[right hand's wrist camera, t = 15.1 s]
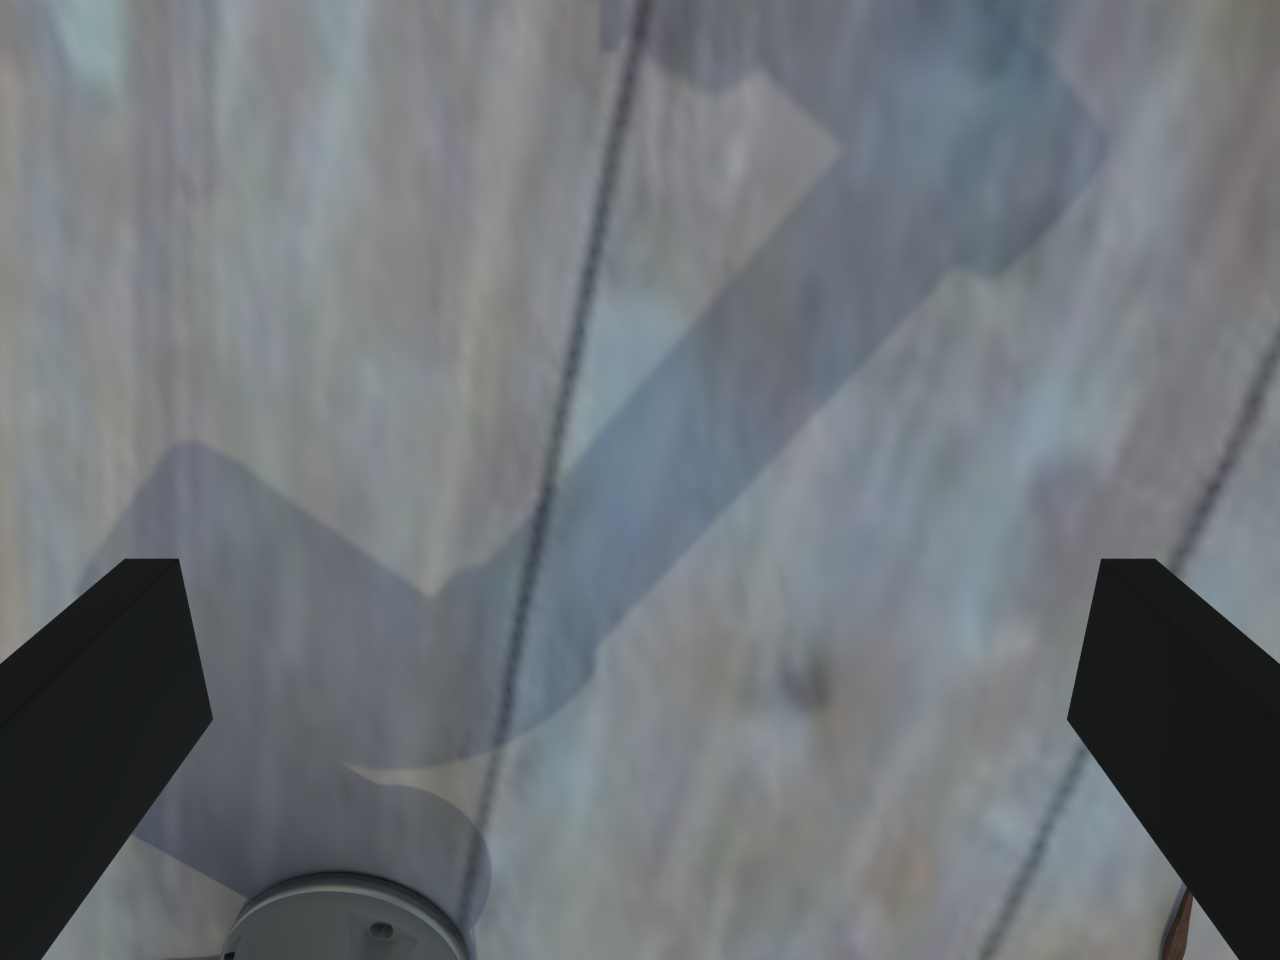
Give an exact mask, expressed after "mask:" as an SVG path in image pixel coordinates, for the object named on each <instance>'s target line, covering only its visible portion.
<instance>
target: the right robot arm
mask: <svg viewBox="0 0 1280 960" xmlns="http://www.w3.org/2000/svg"><path fill="white" fill-rule="evenodd" d="M212 720H213V717H212V712H211V707H210V703H209V698H208V693H207V689H206V684H205V679H204V675H203V670H202V665H201V661H200V656H199V651H198V647H197V642H196V637H195V633H194V628H193V623H192V618H191V614H190V609H189V604H188V600H187V595H186V590H185V586H184V581H183V576H182V572H181V567H180V562H179V559H124V560H123V561H122V562H120V563H119V564H118V565H117V566H116V567H115V568H113V569H112V570H111V571H110V572H109V573H107V574H106V575H105V576H104V577H103V578H102V579H100V580H99V581H98V582H97V583H96V584H94V585H93V586H92V587H91V588H90V589H89V590H87V591H86V592H85V593H84V594H83V595H81V596H80V597H79V598H78V599H77V600H76V601H74V602H73V603H72V604H71V605H70V606H68V607H67V608H66V609H65V610H64V611H62V612H61V613H60V614H59V615H58V616H57V617H55V618H54V619H53V620H52V621H51V622H49V623H48V624H47V625H46V626H45V627H44V628H42V629H41V630H40V631H39V632H38V633H36V634H35V635H34V636H33V637H32V638H31V639H29V640H28V641H27V642H26V643H25V644H23V645H22V646H21V647H20V648H19V649H17V650H16V651H15V652H14V653H13V654H12V655H10V656H9V657H8V658H7V659H6V660H4V661H3V662H2V663H1V664H0V960H41V959H42V958H43V956H44V955H45V953H46V952H47V951H48V949H49V948H50V946H51V945H52V944H53V942H54V941H55V939H56V938H57V937H58V935H59V934H60V932H61V931H62V930H63V928H64V927H65V925H66V924H67V923H68V921H69V920H70V918H71V917H72V916H73V914H74V913H75V911H76V910H77V909H78V907H79V906H80V905H81V903H82V902H83V900H84V899H85V898H86V896H87V895H88V893H89V892H90V891H91V889H92V888H93V886H94V885H95V884H96V882H97V881H98V879H99V878H100V877H101V875H102V874H103V872H104V871H105V870H106V868H107V867H108V865H109V864H110V863H111V861H112V860H113V858H114V857H115V856H116V854H117V853H118V851H119V850H120V849H121V847H122V846H123V845H124V843H125V842H126V840H127V839H128V838H129V836H130V835H131V833H132V832H133V831H134V829H135V828H136V826H137V825H138V824H139V822H140V821H141V819H142V818H143V817H144V815H145V814H146V812H147V811H148V810H149V808H150V807H151V805H152V804H153V803H154V801H155V800H156V798H157V797H158V796H159V794H160V793H161V791H162V790H163V789H164V787H165V786H166V784H167V783H168V782H169V780H170V779H171V778H172V776H173V775H174V773H175V772H176V771H177V769H178V768H179V766H180V765H181V764H182V762H183V761H184V759H185V758H186V757H187V755H188V754H189V752H190V751H191V750H192V748H193V747H194V745H195V744H196V743H197V741H198V740H199V738H200V737H201V736H202V734H203V733H204V731H205V730H206V729H207V727H208V726H209V724H210V723H211V722H212ZM1067 720H1068V722H1069V723H1070V724H1071V726H1072V727H1073V729H1074V730H1075V731H1076V733H1077V734H1078V736H1079V737H1080V738H1081V740H1082V741H1083V743H1084V744H1085V745H1086V747H1087V748H1088V750H1089V751H1090V752H1091V754H1092V755H1093V757H1094V758H1095V759H1096V761H1097V762H1098V764H1099V765H1100V766H1101V768H1102V769H1103V771H1104V772H1105V773H1106V775H1107V776H1108V778H1109V779H1110V780H1111V782H1112V783H1113V784H1114V786H1115V787H1116V789H1117V790H1118V791H1119V793H1120V794H1121V796H1122V797H1123V798H1124V800H1125V801H1126V803H1127V804H1128V805H1129V807H1130V808H1131V810H1132V811H1133V812H1134V814H1135V815H1136V817H1137V818H1138V819H1139V821H1140V822H1141V824H1142V825H1143V826H1144V828H1145V829H1146V831H1147V832H1148V833H1149V835H1150V836H1151V838H1152V839H1153V840H1154V842H1155V843H1156V845H1157V846H1158V847H1159V849H1160V850H1161V851H1162V853H1163V854H1164V856H1165V857H1166V858H1167V860H1168V861H1169V863H1170V864H1171V865H1172V867H1173V868H1174V870H1175V871H1176V872H1177V874H1178V875H1179V877H1180V878H1181V879H1182V881H1183V882H1184V884H1185V885H1186V886H1187V888H1188V889H1189V891H1190V892H1191V893H1192V895H1193V896H1194V898H1195V899H1196V900H1197V902H1198V903H1199V905H1200V906H1201V907H1202V909H1203V910H1204V911H1205V913H1206V914H1207V916H1208V917H1209V918H1210V920H1211V921H1212V923H1213V924H1214V925H1215V927H1216V928H1217V930H1218V931H1219V932H1220V934H1221V935H1222V937H1223V938H1224V939H1225V941H1226V942H1227V944H1228V945H1229V946H1230V948H1231V949H1232V951H1233V952H1234V953H1235V955H1236V956H1237V958H1238V959H1239V960H1280V664H1279V663H1278V662H1277V661H1276V660H1274V659H1273V658H1272V657H1271V656H1270V655H1268V654H1267V653H1266V652H1265V651H1264V650H1263V649H1261V648H1260V647H1259V646H1258V645H1257V644H1255V643H1254V642H1253V641H1252V640H1251V639H1249V638H1248V637H1247V636H1246V635H1245V634H1244V633H1242V632H1241V631H1240V630H1239V629H1238V628H1236V627H1235V626H1234V625H1233V624H1232V623H1231V622H1229V621H1228V620H1227V619H1226V618H1225V617H1223V616H1222V615H1221V614H1220V613H1219V612H1218V611H1216V610H1215V609H1214V608H1213V607H1212V606H1210V605H1209V604H1208V603H1207V602H1206V601H1204V600H1203V599H1202V598H1201V597H1200V596H1199V595H1197V594H1196V593H1195V592H1194V591H1193V590H1191V589H1190V588H1189V587H1188V586H1187V585H1186V584H1184V583H1183V582H1182V581H1181V580H1180V579H1178V578H1177V577H1176V576H1175V575H1174V574H1173V573H1171V572H1170V571H1169V570H1168V569H1167V568H1165V567H1164V566H1163V565H1162V564H1161V563H1160V562H1158V561H1157V560H1156V559H1101V562H1100V567H1099V572H1098V576H1097V581H1096V586H1095V590H1094V595H1093V600H1092V604H1091V609H1090V614H1089V618H1088V623H1087V628H1086V633H1085V637H1084V642H1083V647H1082V651H1081V656H1080V661H1079V665H1078V670H1077V675H1076V679H1075V684H1074V689H1073V693H1072V698H1071V703H1070V707H1069V712H1068V717H1067ZM219 960H469V958H468V954H467V950H466V948H465V945H464V942H463V940H462V939H461V937H460V935H459V933H458V932H457V930H456V929H455V927H454V926H453V924H452V923H451V922H450V921H449V920H448V919H447V917H446V916H445V915H443V914H442V913H441V912H440V911H439V910H438V909H437V908H436V907H435V906H433V905H432V904H431V903H429V902H428V901H426V900H425V899H423V898H422V897H420V896H419V895H417V894H415V893H413V892H412V891H410V890H407V889H405V888H403V887H401V886H399V885H396V884H393V883H391V882H388V881H384V880H381V879H377V878H373V877H369V876H364V875H357V874H347V873H323V874H313V875H307V876H302V877H298V878H294V879H290V880H288V881H285V882H282V883H279V884H277V885H275V886H273V887H271V888H269V889H267V890H266V891H264V892H262V893H261V894H260V895H258V896H257V897H256V898H254V899H253V900H252V901H251V902H250V903H249V904H248V905H247V906H246V907H245V908H244V909H243V911H242V912H241V913H240V915H239V916H238V918H237V919H236V921H235V923H234V925H233V927H232V929H231V931H230V933H229V935H228V937H227V939H226V941H225V943H224V946H223V949H222V952H221V955H220V958H219Z"/></svg>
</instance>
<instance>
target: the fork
mask: <svg viewBox="0 0 1280 960" xmlns="http://www.w3.org/2000/svg"><path fill="white" fill-rule="evenodd" d="M1192 901H1193V895H1192V893H1191V892H1190V891H1189V889H1188V888H1187V889H1186V891H1185V893H1184V896H1183V899H1182V901H1181V904H1180V907H1179V910H1178V913H1177V915H1176V918H1175V921H1174V923H1173V925H1172V928H1171V930H1170V932H1169V935H1168V937H1167V940H1166V943H1165V946H1164V950H1163V956H1162V960H1183V957H1184V954H1185V949H1186V943H1187V936H1188V928H1189V920H1190V914H1191V908H1192Z"/></svg>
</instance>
